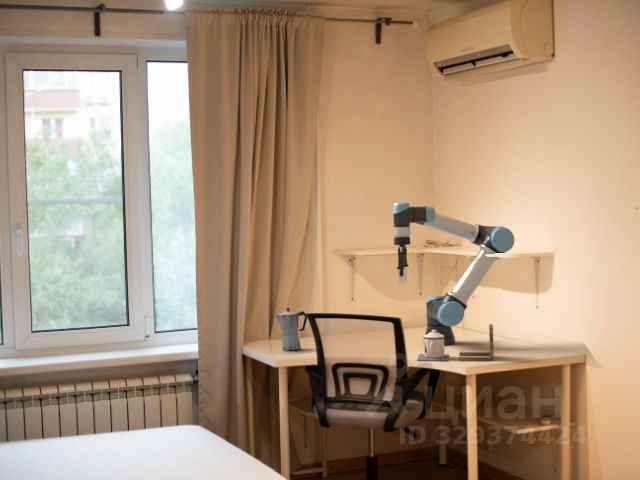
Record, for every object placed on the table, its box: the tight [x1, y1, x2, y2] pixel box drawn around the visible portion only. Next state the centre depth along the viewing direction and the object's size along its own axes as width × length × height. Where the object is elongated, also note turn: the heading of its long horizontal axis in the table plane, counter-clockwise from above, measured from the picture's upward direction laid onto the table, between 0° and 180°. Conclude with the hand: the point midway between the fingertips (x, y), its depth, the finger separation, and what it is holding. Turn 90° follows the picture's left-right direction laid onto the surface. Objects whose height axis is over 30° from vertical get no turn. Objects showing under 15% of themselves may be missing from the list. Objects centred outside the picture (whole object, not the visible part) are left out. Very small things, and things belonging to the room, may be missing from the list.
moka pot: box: [275, 307, 308, 352], centre depth 409 cm, size 10×15×20 cm, turn 95°
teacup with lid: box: [423, 330, 445, 358], centre depth 375 cm, size 12×9×12 cm
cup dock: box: [458, 323, 495, 362], centre depth 372 cm, size 13×15×14 cm
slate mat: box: [416, 353, 449, 362], centre depth 375 cm, size 14×13×1 cm
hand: (403, 282), depth 396 cm, fingers open, 13 cm apart
